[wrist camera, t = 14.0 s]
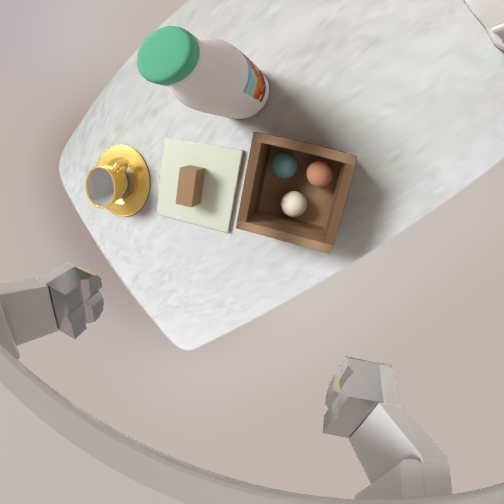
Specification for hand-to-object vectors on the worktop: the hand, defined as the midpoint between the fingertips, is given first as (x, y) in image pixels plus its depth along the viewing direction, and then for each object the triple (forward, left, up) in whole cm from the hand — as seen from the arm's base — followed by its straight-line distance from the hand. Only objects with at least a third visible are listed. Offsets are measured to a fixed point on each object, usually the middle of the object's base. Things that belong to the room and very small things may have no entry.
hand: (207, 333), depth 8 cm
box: (0, 0, -31) cm, 31 cm away
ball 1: (+2, -2, -29) cm, 29 cm away
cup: (+28, +5, -31) cm, 42 cm away
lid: (+14, +3, -32) cm, 35 cm away
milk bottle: (+10, -11, -31) cm, 34 cm away
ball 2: (0, +2, -29) cm, 29 cm away
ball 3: (-2, -2, -29) cm, 29 cm away
